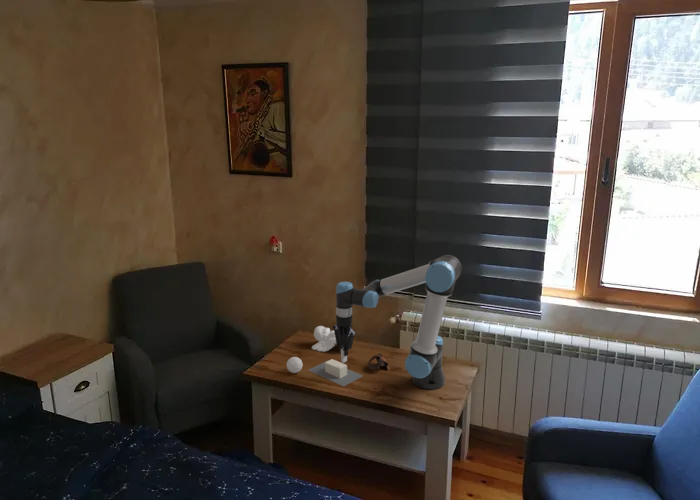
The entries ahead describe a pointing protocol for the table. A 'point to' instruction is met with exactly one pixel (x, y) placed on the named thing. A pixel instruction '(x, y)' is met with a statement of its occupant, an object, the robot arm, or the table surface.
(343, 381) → the grey mat
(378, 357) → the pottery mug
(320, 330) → the cherub figurine
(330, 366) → the cream block
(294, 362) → the geometric ball
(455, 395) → the table surface
